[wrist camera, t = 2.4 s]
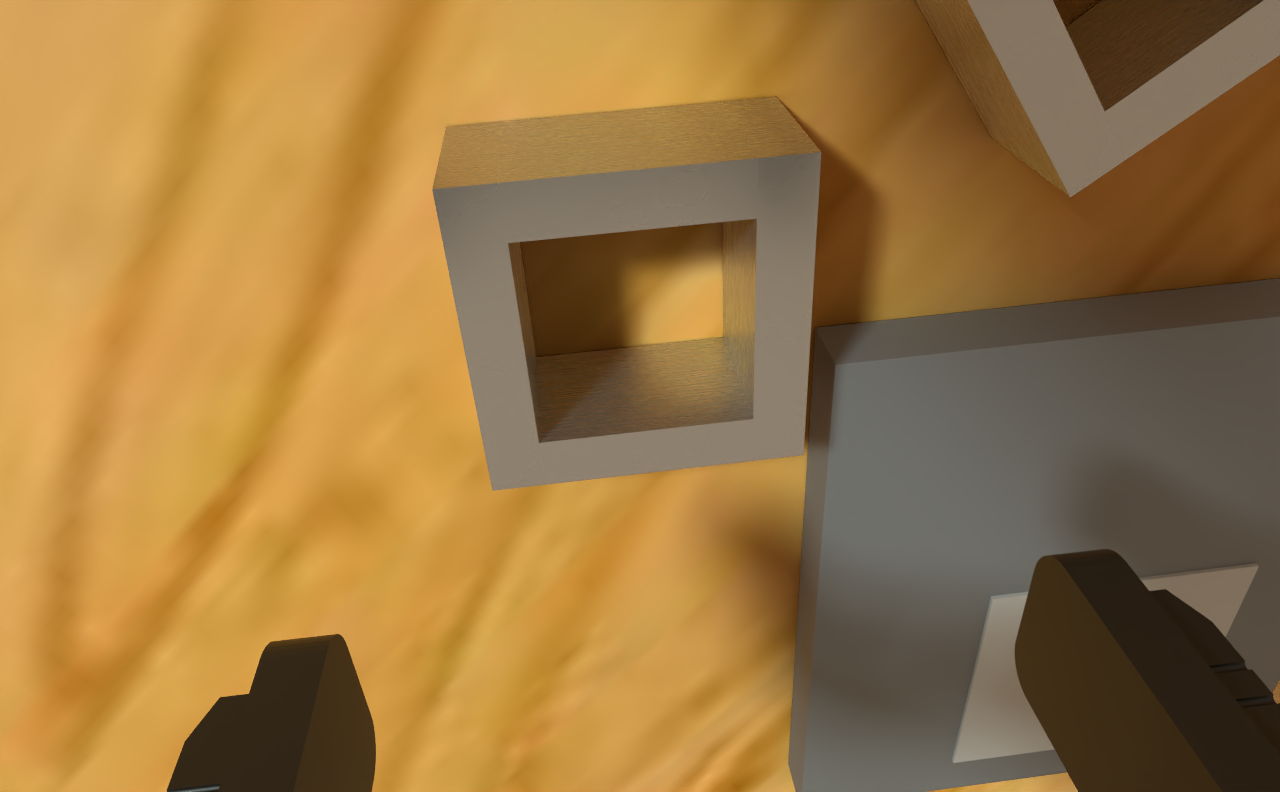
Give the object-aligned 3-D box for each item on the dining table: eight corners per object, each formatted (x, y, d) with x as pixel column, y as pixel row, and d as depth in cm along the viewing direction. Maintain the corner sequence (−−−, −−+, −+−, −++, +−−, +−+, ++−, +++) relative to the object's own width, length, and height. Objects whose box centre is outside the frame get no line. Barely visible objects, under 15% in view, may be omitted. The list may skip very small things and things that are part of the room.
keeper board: (815, 327, 19) (916, 514, 14) (1430, 262, 20) (1727, 418, 15) (788, 764, 28) (844, 970, 23) (1211, 707, 29) (1351, 895, 24)
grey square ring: (446, 127, 16) (432, 189, 14) (776, 97, 16) (821, 152, 14) (496, 400, 19) (492, 490, 17) (768, 371, 20) (803, 454, 17)
